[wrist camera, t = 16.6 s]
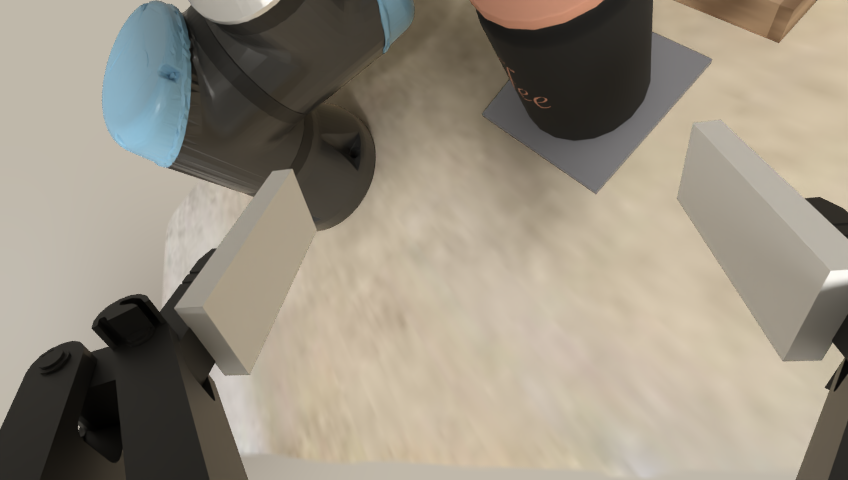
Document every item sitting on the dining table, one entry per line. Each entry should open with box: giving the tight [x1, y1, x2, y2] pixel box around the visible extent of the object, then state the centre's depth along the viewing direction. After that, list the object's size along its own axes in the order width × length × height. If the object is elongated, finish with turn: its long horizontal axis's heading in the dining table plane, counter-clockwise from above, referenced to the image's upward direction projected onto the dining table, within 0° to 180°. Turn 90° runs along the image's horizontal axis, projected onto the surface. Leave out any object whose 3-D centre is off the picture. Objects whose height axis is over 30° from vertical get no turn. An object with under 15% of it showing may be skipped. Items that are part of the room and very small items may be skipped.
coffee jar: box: [470, 0, 653, 141], centre depth 32 cm, size 11×11×18 cm
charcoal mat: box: [482, 32, 712, 194], centre depth 40 cm, size 14×14×1 cm
